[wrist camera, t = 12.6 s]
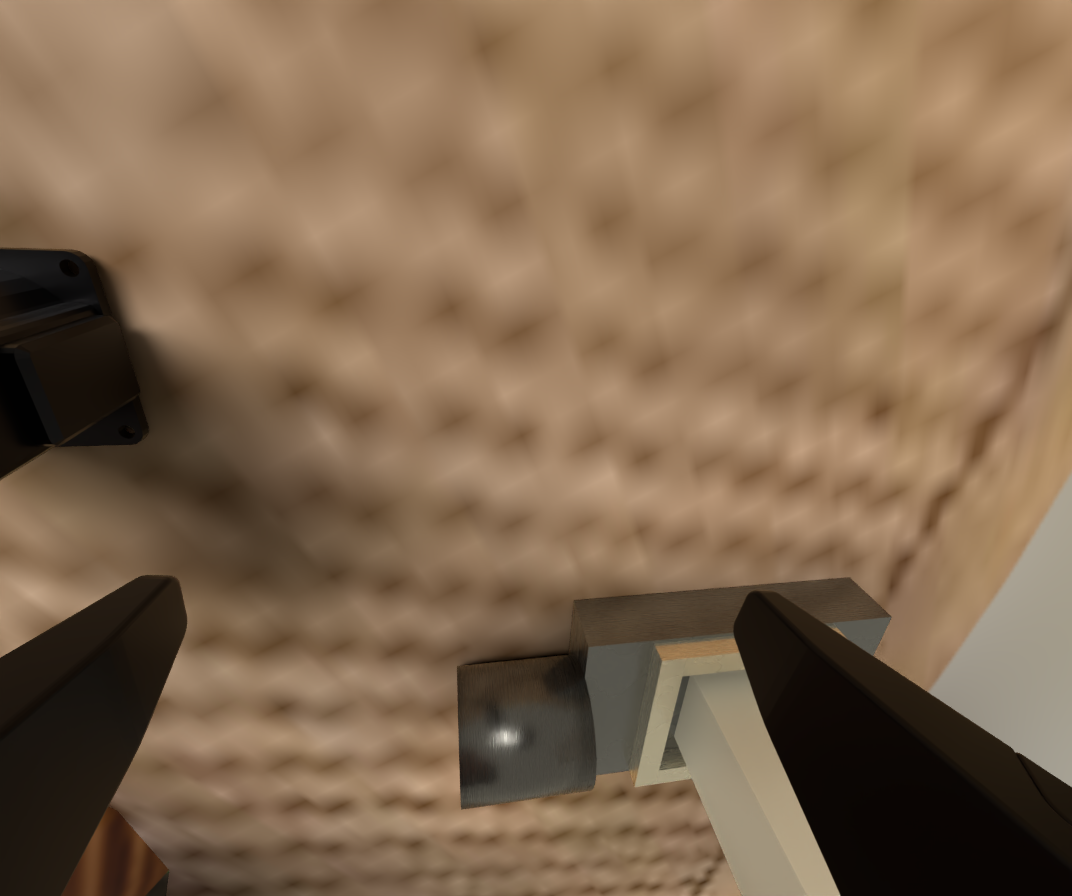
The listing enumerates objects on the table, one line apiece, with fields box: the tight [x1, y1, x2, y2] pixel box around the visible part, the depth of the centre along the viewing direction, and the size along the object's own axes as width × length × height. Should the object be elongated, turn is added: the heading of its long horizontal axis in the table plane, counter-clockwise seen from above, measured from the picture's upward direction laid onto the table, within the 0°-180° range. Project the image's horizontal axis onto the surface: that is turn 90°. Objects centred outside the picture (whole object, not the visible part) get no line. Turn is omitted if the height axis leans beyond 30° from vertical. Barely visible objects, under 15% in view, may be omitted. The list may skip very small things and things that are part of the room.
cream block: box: [674, 670, 840, 896], centre depth 22 cm, size 7×5×10 cm
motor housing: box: [457, 578, 891, 810], centre depth 26 cm, size 22×10×6 cm, turn 88°
